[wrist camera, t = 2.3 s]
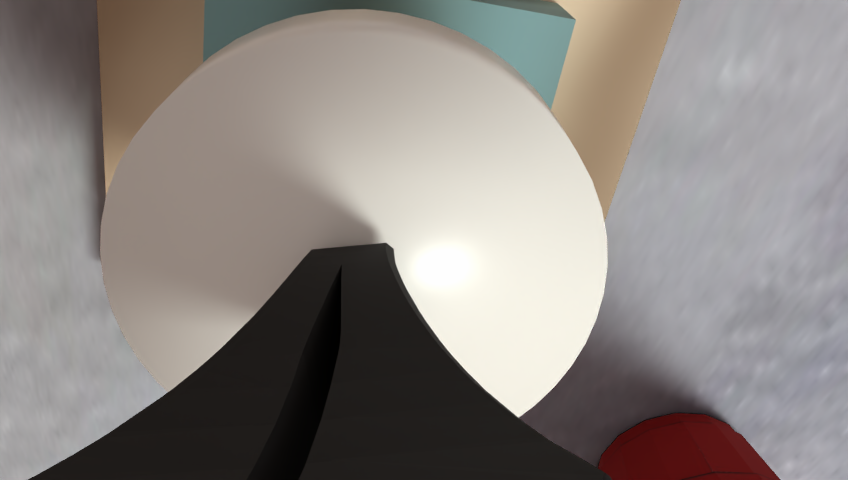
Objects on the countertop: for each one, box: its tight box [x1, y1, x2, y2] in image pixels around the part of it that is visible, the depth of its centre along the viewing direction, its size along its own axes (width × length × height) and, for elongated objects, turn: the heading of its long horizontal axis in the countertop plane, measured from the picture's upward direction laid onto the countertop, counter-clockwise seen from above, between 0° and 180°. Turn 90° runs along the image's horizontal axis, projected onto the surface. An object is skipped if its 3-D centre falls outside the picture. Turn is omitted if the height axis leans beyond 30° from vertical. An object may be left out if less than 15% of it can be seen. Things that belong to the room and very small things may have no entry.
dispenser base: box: [97, 0, 681, 222], centre depth 18 cm, size 14×12×3 cm
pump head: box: [100, 9, 608, 418], centre depth 13 cm, size 8×8×4 cm
